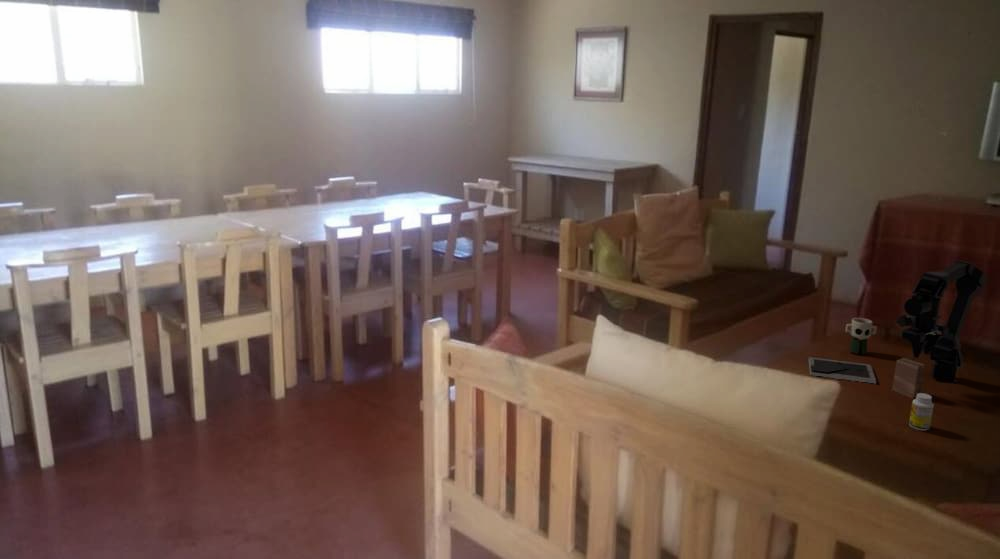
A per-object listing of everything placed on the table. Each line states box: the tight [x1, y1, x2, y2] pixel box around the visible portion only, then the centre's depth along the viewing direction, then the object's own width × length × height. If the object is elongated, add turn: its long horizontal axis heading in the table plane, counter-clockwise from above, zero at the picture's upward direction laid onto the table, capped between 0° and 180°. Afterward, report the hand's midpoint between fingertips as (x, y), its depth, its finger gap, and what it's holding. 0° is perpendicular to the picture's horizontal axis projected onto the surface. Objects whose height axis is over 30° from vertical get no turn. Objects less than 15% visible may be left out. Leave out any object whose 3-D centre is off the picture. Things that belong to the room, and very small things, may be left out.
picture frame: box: [808, 356, 877, 385], centre depth 264 cm, size 16×3×21 cm
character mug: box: [845, 317, 878, 355], centre depth 282 cm, size 11×7×13 cm, turn 79°
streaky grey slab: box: [891, 357, 925, 399], centre depth 245 cm, size 4×7×11 cm, turn 33°
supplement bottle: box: [908, 392, 935, 431], centre depth 220 cm, size 6×6×10 cm
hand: (921, 355), depth 247 cm, fingers open, 6 cm apart
